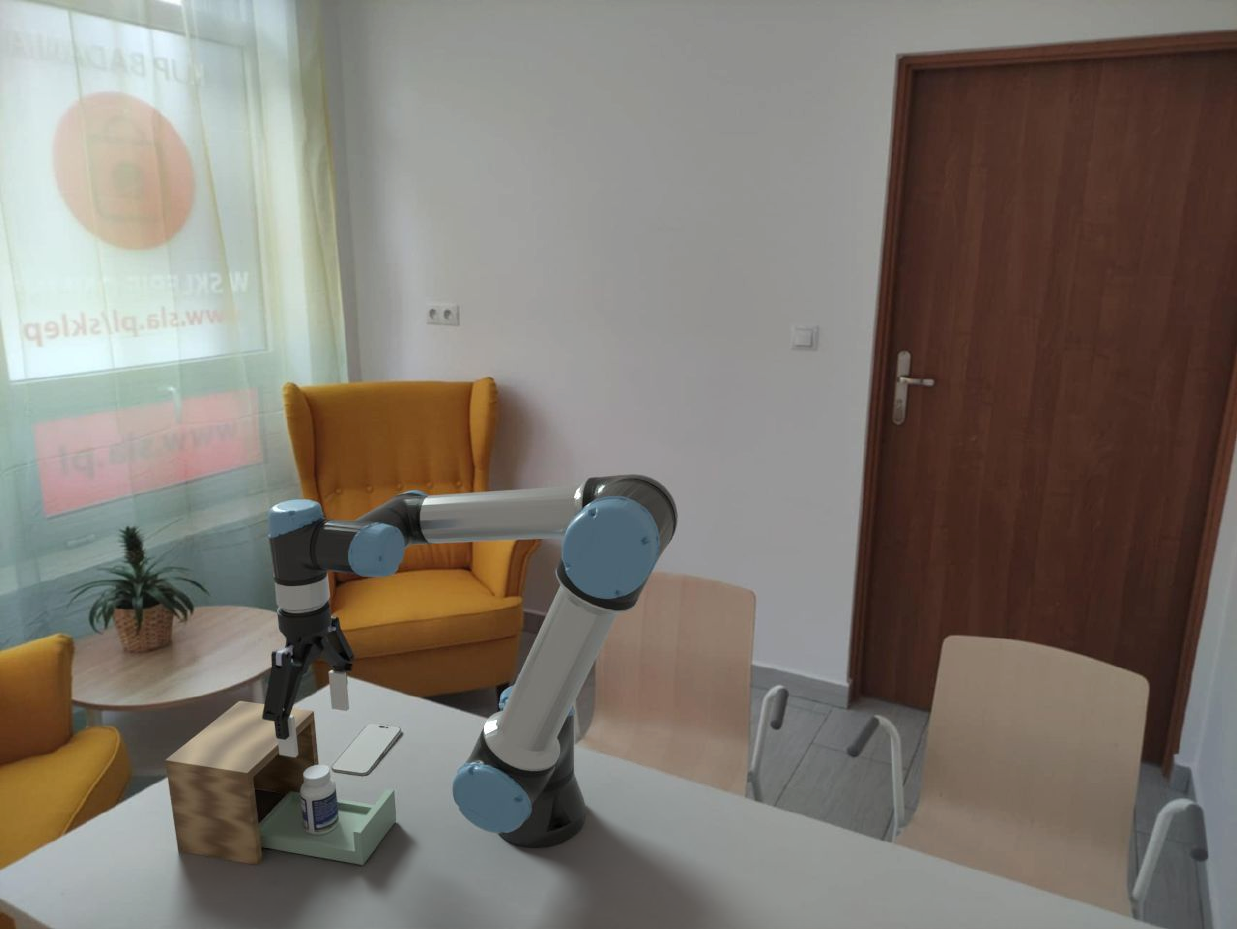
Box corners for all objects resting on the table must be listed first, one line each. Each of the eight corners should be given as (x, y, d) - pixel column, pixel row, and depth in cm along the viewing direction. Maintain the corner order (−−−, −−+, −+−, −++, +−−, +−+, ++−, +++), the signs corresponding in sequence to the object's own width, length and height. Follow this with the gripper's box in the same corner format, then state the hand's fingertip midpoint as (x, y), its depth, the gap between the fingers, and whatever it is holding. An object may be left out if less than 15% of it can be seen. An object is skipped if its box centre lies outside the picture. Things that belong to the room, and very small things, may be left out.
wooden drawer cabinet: (321, 794, 154) (313, 711, 150) (257, 865, 137) (247, 773, 133) (249, 783, 157) (239, 700, 153) (178, 850, 140) (165, 760, 136)
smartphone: (328, 769, 161) (367, 722, 175) (329, 774, 161) (368, 727, 175) (366, 774, 159) (403, 727, 174) (367, 779, 160) (403, 732, 174)
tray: (396, 820, 147) (394, 789, 146) (363, 865, 137) (360, 832, 136) (291, 802, 152) (288, 773, 150) (251, 845, 141) (247, 813, 140)
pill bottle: (345, 817, 146) (340, 764, 144) (328, 838, 141) (323, 783, 139) (314, 812, 147) (309, 759, 145) (297, 833, 142) (291, 779, 140)
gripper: (329, 570, 147) (339, 688, 152) (225, 636, 124) (241, 772, 129) (370, 575, 145) (379, 694, 150) (272, 642, 122) (287, 780, 127)
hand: (315, 730), depth 140 cm, fingers open, 13 cm apart
